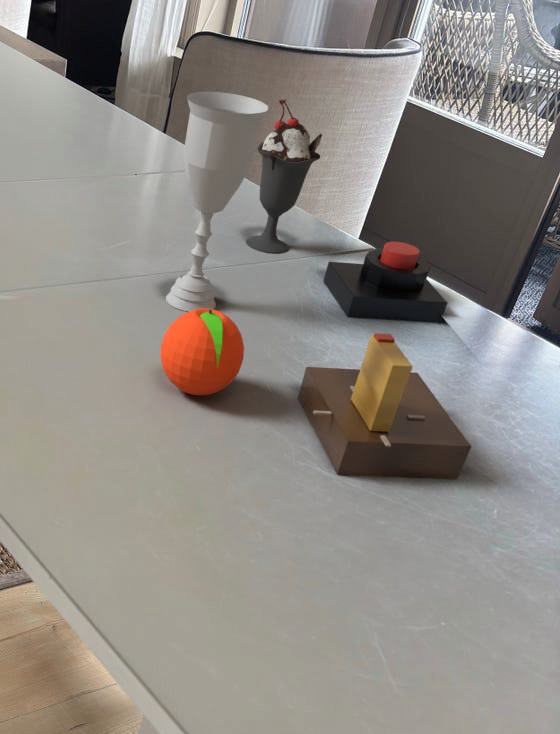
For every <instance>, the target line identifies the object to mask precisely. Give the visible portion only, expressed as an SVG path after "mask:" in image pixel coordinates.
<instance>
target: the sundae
mask: <svg viewBox="0 0 560 734" xmlns="http://www.w3.org/2000/svg"><path fill="white" fill-rule="evenodd" d="M286 101H287V100H286V99H279V100H278V103H279V104H280V105H281V107H282V113H281V117H280V119H279V120H278V121H276V122H275V123H274V130H273V131H271V133H269V134H268V135H267V136H266V137H265V139H264V141H262V142H260V143H259V144H258V146H257V149H256V151H257V152H258V153H259V154H260V155H261V173H260V181H259V182H260V183H259V202H260V204H261V205H262V208H263V209H264V210H265V212H267V220H266V224H265V226H264V229H263V231H262V233H261V234H259V235H253V236H249V237H247V238H246V240H245V243H246V245H247V246H248V247H249V248H251V249H252V250H255V251H258V252H262V253H265V254H283V253H286V252H288V250H289V249H290V248H289V245H288V244H287V243H286V242H285V241H284V240H281V239H279V238H278V235H277V227H278V223H279V219H280V217H281V216H282V215H283V214H285V213H287V212H289V211H290V210H291V209H292V208H293V207H295V205H296V203H297V200H298V199H299V196H300V193H301V191H302V189H303V185H304V183H305V180H306V177H307V175H308V172H309V170H310V168H311V166H312V164H313V163H314V162H316V161H318V160H320V158H321V154H319V153H318V152H316V150H317V149H318V147H319V145H320V143H321V141H322V137H323V134H322V133H319V134H318V135H317V136H316V137H315V138H314V139H313V140H312V141H311V135H310V133H309V131H308V130H307V128H306V127H305V125H303V124H301V123H300V121H299V119H298V118H297V117H294V116H293V114H292V112H291V111H290V109H289V106H288V104H287V103H286ZM284 105H285V106H284ZM285 107H286V109H287V112H288V114H289V116H290V118H289V119H288V121H287V123H286V122H285V120H283V119H284V117H285Z"/></svg>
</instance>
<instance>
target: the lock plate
mask: <svg viewBox="0 0 560 734" xmlns="http://www.w3.org/2000/svg"><path fill="white" fill-rule="evenodd" d="M359 372H360V369H359V368H357V369H356V368H341V367H339V368H338V367H320V366H319V367H318V366H306V367H305V370H304V373H303V378H302V381H301V384H300V387H299V392H298V395H297V400H298V403H299V404H300V406H301V408H302V410H303V412H304V414H305V416H306V418H307V420H308V421H309V423H310V425H311V427H312V429H313V431H314V433H315V435H316V437H317V439H318V441H319V442H320V444H321V446H322V448H323V450H324V452H325V454H326V456H327V457H328V459H329V462H330V464H331V465H332V467H333V469H334V472H335V474H336V475H339V476H341V475H342V476H363V477H366V476H367V477H390V478H391V477H393V478H394V477H395V478H416V479H417V478H419V479H443V480H445V479H446V480H458V479H459V477H460V474H461V473H462V469H463V468H464V465H465V463H466V461H467V458H468V456H469V454H470V451H471V449H472V445H471V444H470V442H469V441H468V439H467V438H466V436H465V435H464V434H463V433H462V431H461V430H460V428H458V426H457V424H455V423H456V422H454V421H453V419H452V418H451V417H450V414H448V412H447V411H446V409H445V408H444V407H443V405H442V404H441V402H439V400H438V398H436V396H435V395H434V393H433V392H432V390H431V389H430V388H429V386H428V385H427V384H426V382H425V381H424V379H423V378H422V377H421V375H420V374H419V373H418V372H412V371H411V373H410V376H409V378H408V381H407V384H406V387H405V390H404V392H403V395H402V398H401V401H400V403H399V406H398V409H397V412H396V415H395V417H394V420H393V423H392V426H391V429H390V431H389V432H382V431H370V430H369V428H368V426H367V425H366V423H365V422H364V420H363V418H362V417H361V415H360V413H359V412H358V410H357V408H356V407H355V405H354V404H353V402H352V400H351V397H352V394H353V391H354V388H355V384H356V381H357V378H358V375H359Z"/></svg>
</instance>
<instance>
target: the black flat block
mask: <svg viewBox="0 0 560 734" xmlns="http://www.w3.org/2000/svg"><path fill="white" fill-rule="evenodd" d="M383 249H384V248H378V249H377V248H376V249H372V250H368V252H367V254H365V256H364V260H363V263H353V262H342V261H341V262H339V261H328V263H327V266H326V270H325V272H324V273H325V274H324V278H323V280H322V282H323V283H324V285H325V286H326V287H327V289H328V291H329V292H330V294H331V295H332V296H333V298H334V300H335V301H336V303H337V304H338V305H339V307H340V308H341V310H342V312H343V313H344V314H345V315H346V317H347V318H353V319H366V320H367V319H368V320H369V319H370V320H383V321H398V322H399V321H400V322H401V321H402V322H417V323H433V324H441V322H442V319H443V316H444V314H445V311H446V310H447V309H446V308H447V306H448V302H447V300H446V299H445V298H444V296H442V295H441V294H440V292H439V291H438V290H437V289H436V287H435V286H434V285H433V284H432V283H431V282H430V281H429V280H428V279H427V278H428V276H429V273H430V270H431V266H430V264H429V263H428V262H427V261H426V260H425V259H424V258H421V257H419V256H418V259H417V262H416V265H415V268H414V269H410V270H409V269H399V268H395V267H391V266H388V265H386V264H384V263H382V262H381V261H380V258H381V255H382V252H383Z"/></svg>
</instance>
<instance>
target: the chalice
mask: <svg viewBox="0 0 560 734" xmlns="http://www.w3.org/2000/svg"><path fill="white" fill-rule="evenodd" d="M186 99H187V104H188V107H189V117H188V122H187V130H186V135H185V141H184V146H183V154H182V159H183V166H184V167H183V168H184V173H185V180H186V183H187V188H188V190H189V195H190V198H191V203H192V206H193V208H194V209H196V210H198V211H199V212H200V222H199V224H198V227H197V229H196V230H195V231H194V234H195V236H196V244H195V245H194V248H193V249H192V250H190V254H191V255H192V265H191V268H190V270H188V271H187V273H183V274H181V275H180V276H179V277H178V278H176V280H175V281H174V282H175V283H174V284H173V285H172V286H171V288H170V291H169V292H168V293H167V294H166V296H165V302H167V304H168V305H170V306H171V307H173V308H174V309H177V310H180V311H185V312H190V311H192V310H195V309H200V308H207V309H213V310H215V309H216V307H217V305H216V301H215V299H214V297H215V294H214V293H215V292H214V291H213V283H211V281H210V279H209V278H208V277H207V276H205V273H204V272H203V264H204V262H205V259H206V258H207V257H209V255H210V253H209V251H208V250H207V243H208V241H209V239H210V238H211V237H212V235H213V233H212V230H211V221H212V219H213V217H214V214H217V213H221V212H223V211H224V210H225V208H226V207H227V205H228V204H229V203H230V201H231V200H232V198H233V197H234V196H235V194H236V192H237V191H238V190H239V187H241V185H242V183H243V181H244V179H245V178H246V176H247V174H248V172H249V170H250V169H251V166H252V162H253V156H254V152H255V147H256V143H257V138H258V132H259V128H260V123H261V120H262V119H263V118H264V116H265V115H266V113H267V112H268V111H269V106H268V105H267V104H266V103H265V102H262V101H261V100H259V99H256V98H254V97H253V98H252V97H250V96H249V97H248V96H245V95H240V94H235V93H230V92H220V91H196V92H195V91H194V92H192V93H189V94H188V95H186Z"/></svg>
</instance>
